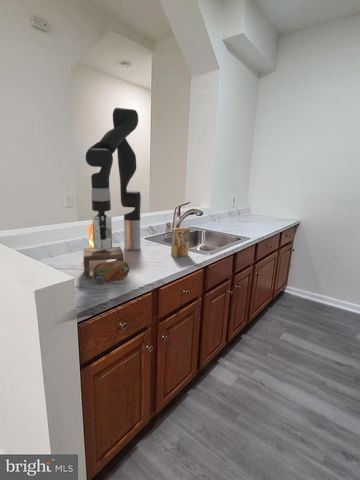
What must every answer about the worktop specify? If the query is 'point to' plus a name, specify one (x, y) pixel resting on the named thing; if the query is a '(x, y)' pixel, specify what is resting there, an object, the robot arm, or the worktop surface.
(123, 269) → the tin
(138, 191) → the robot arm
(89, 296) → the worktop surface
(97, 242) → the syrup box
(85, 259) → the walnut shelf
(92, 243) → the orange juice
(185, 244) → the candy box
